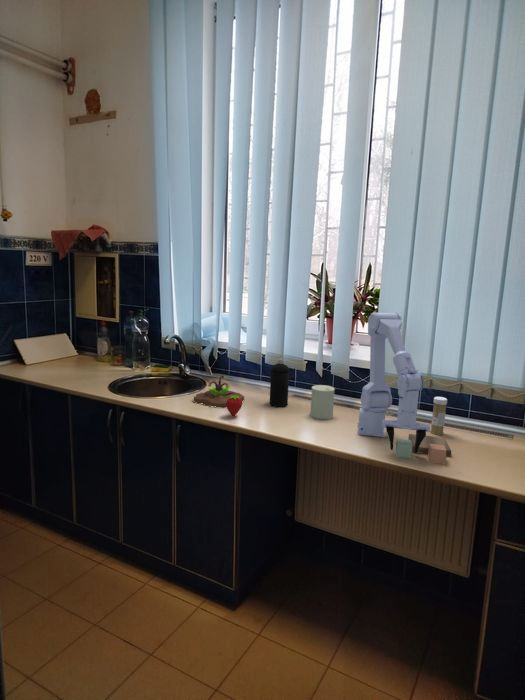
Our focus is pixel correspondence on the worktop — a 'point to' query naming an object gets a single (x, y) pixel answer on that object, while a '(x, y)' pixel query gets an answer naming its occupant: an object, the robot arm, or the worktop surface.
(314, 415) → the can
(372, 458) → the worktop surface
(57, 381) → the worktop surface
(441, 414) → the sprinkles bottle
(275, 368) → the aerosol can
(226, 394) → the plant
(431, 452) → the terracotta cube
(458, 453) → the worktop surface
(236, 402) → the strawberry
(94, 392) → the worktop surface
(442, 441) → the walnut base
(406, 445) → the sage cube
